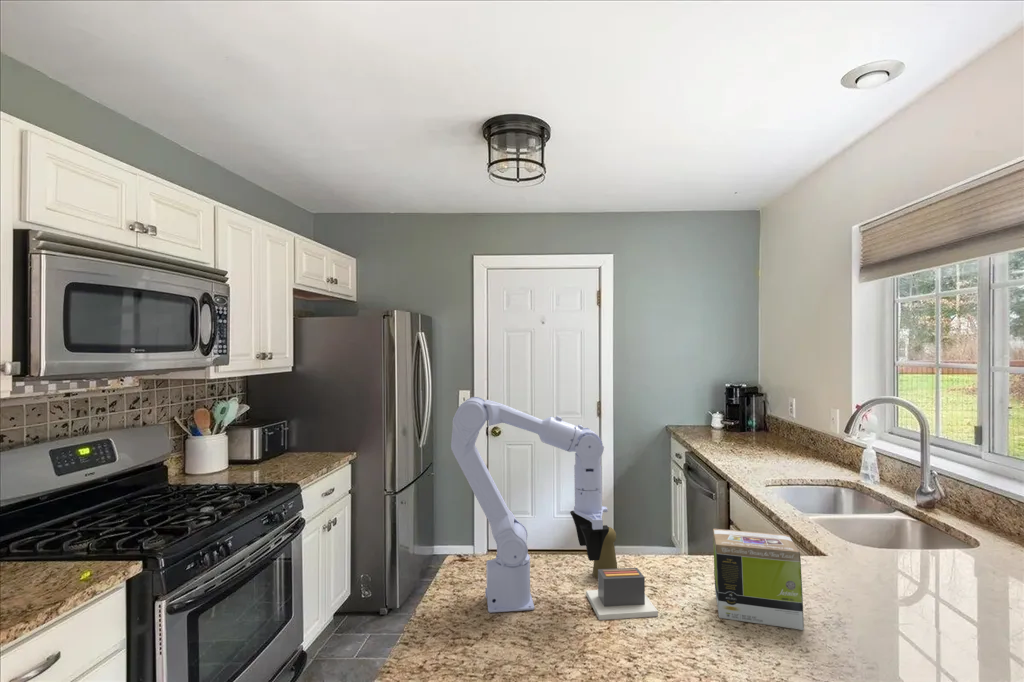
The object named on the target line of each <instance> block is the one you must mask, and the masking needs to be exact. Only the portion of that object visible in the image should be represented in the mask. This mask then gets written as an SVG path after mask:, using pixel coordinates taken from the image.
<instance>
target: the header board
mask: <svg viewBox="0 0 1024 682" xmlns="http://www.w3.org/2000/svg"><path fill="white" fill-rule="evenodd" d="M585 592H586V593H585V595H586V597H587V599H588V601H589V604H590V605H591V607H592V608H593V611H594V613H595V615H596V617H597V620H599V621H605V620H609V621H610V620H618V619H619V620H620V619H634V618H637V619H639V618H651V617H653V618H654V617H658V616H659V611H658V609H657V608H656V606H655V605H654V604H653V603H652V601H651V600H650V599H649V597H648V596H647V595H646V594H645V605H625V606H603V604H602V602H601V600H600V598H599V596H598V589H591V590H590V589H588V590H585Z"/></svg>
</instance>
